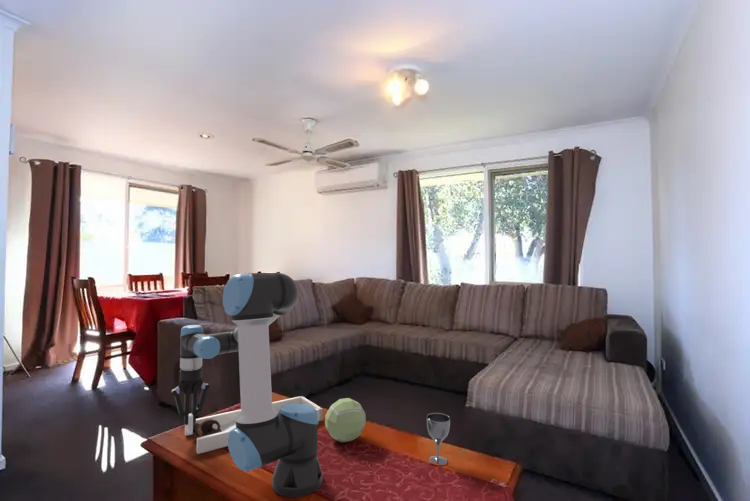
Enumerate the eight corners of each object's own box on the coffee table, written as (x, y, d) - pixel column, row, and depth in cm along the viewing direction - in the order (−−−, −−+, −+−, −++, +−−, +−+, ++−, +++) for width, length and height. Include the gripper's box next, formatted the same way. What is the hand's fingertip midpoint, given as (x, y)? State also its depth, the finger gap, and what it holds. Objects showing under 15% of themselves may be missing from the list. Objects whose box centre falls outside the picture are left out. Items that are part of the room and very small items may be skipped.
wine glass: (431, 468, 133) (432, 423, 133) (422, 456, 141) (423, 413, 141) (453, 465, 135) (454, 420, 135) (443, 454, 143) (443, 411, 143)
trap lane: (322, 425, 170) (322, 408, 170) (197, 459, 140) (197, 439, 140) (301, 410, 185) (301, 395, 185) (184, 439, 155) (185, 421, 155)
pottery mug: (224, 433, 157) (226, 419, 154) (213, 455, 149) (215, 440, 145) (193, 426, 156) (195, 411, 153) (181, 447, 148) (182, 432, 144)
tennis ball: (370, 445, 149) (371, 404, 149) (331, 451, 143) (332, 409, 143) (357, 428, 163) (357, 391, 163) (321, 434, 157) (321, 395, 157)
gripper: (206, 363, 154) (205, 424, 154) (169, 368, 146) (167, 433, 146) (212, 367, 148) (211, 431, 148) (174, 373, 140) (172, 441, 140)
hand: (189, 432), depth 147 cm, fingers closed
